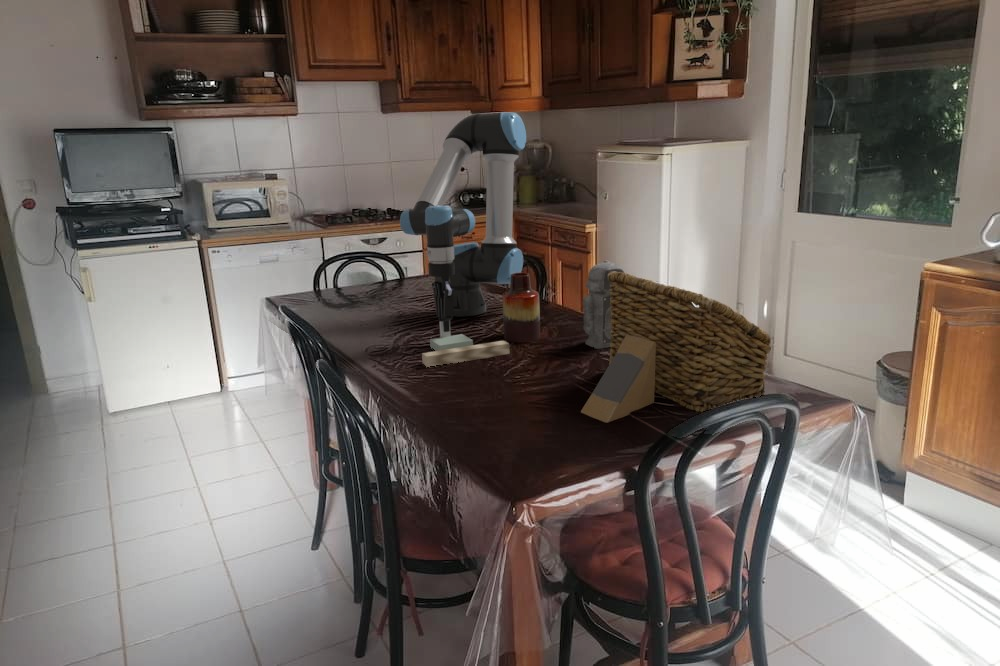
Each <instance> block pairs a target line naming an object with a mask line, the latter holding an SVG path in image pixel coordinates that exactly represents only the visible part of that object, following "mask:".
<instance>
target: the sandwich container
mask: <svg viewBox="0 0 1000 666" xmlns="http://www.w3.org/2000/svg"><path fill="white" fill-rule="evenodd" d="M655 360H656V342H654V341H650V340H647V339H643V338H639V337H635V336H631V335H626V336H625V338H624V340H623V342H622V344H621V346H620V347H619V349H618V351H617V353H616V355H615V356H614V358H613V360H612V361H611V363H610V365H609V364H608V366H607V368H606V370H605V371H604V374H603V375H601V378H600V380H599V381H598V383H597V384H596V386H595V388H594V390H593V391H592V393H591V394H590V396H589V398H588V399H587V401H586V402H585V404H584V406H583V407H582V409H581V411H580V413H581V414H584V415H585V416H588V417H590V418H593V419H596V420H599V421H600V422H603V423H610V422H613V421H615V420H619V419H621V418H624V417H626V416H629V415H631V413H632V412H634V411H638V410H640V409H644V408H646V407H647V406H650V405H651V404H654V403H655V392H654V391H655Z"/></svg>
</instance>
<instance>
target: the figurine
mask: <svg viewBox="0 0 1000 666" xmlns="http://www.w3.org/2000/svg"><path fill="white" fill-rule="evenodd" d="M612 271H616V272H623V273H625V271H624V270H623V268H622V267H621V266H620V264H617V263H614V262H611V261H609V260H607V259H606V260H604V261H603V262H600V263H597V264H595V265H593V266H592V267H591V268H590V269H589V272H588V276H587V281H586V284H585V288H586V289H588V294H587V295H585V296H584V297H583V299H582V307H583V308H582V309H583V326H582V329H583V330H584V332H585V334H587V335H588V338H587V339H586V340H585V345H587V346H589V347H590V348H593V347H594V349H596V350H601V349H604V348H605V349H606V348H611V347H610V343H611V335H610V334H611V330H610V329H611V328H612V327H611V325H610V324H611V318H610V316H611V312H612V311H611V305H610V298H611V297H612V296H611V295H610V289H611V287H610V284H611V281H609V280H608V276H607V275H608V273H610V272H612Z"/></svg>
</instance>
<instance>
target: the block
mask: <svg viewBox="0 0 1000 666" xmlns="http://www.w3.org/2000/svg"><path fill="white" fill-rule="evenodd" d="M429 344H430V345H429V346H430V347H431V348H430V347H429V348H430V349H432V348H433V349H434V350H435V351H440V350H446V349H453V348H459V347H465V346H472V345H474V340H473V339H471V338H469V337H468V336H466V335H464V334H463V333H460V334H453V335H451V336H447V337H440V336H439V337H435V338H430V339H429ZM433 349H432V350H433ZM434 350H433V351H434Z"/></svg>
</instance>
